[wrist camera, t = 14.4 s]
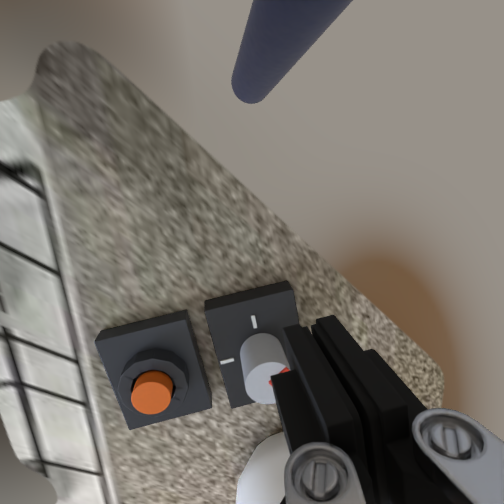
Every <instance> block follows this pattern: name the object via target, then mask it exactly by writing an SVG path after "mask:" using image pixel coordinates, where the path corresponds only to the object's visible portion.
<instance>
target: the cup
mask: <svg viewBox="0 0 504 504" xmlns="http://www.w3.org/2000/svg"><path fill="white" fill-rule="evenodd" d="M289 457H290V453H289V449H288V446H287V442H286V439H285V435H284V432H280V433H277V434H275V435H272V436H269V437H268V438H266V439H265V440H264V441H263V442H261V443H260V444H259V445H257V447H256V449H255V450H254V452H253V454H252V455H251V457H250V459H249V461H248V463H247V465H246V466H245V468H244V470H243V472H242V474H241V476H240V478H239V480H238V486H237V496H236V504H280V503H281V501H282V499H283V498H284V496H285V486H284V469H285V465H286V463H287V460H288V458H289Z"/></svg>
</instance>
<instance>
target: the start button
mask: <svg viewBox="0 0 504 504" xmlns="http://www.w3.org/2000/svg"><path fill="white" fill-rule="evenodd" d="M172 389H173V383H172V380H171V379H170V377H169V376H168V375H167V374H165V373H163V372H161V371H148V372H145V373H143V374H142V375H141V376H139V377H138V379H137V380H136V383H135V386H134V389H133V392H132V395H131V401H132V404H133V406H134V407H135V409H137V410H138V411H139V412H141V413H144V414H157V413H160V412H162V411H163V410H165V409H166V408H167V407H168V405H169V404H170V401H171V395H172Z"/></svg>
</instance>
